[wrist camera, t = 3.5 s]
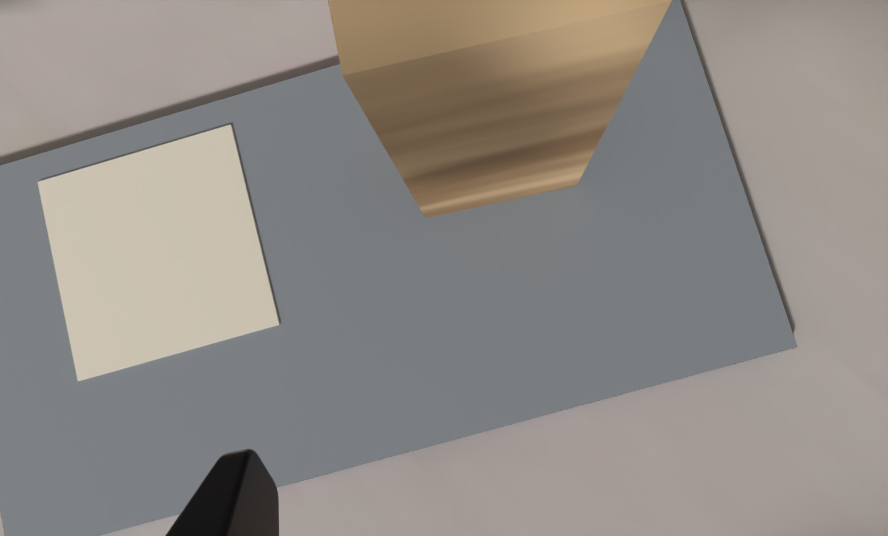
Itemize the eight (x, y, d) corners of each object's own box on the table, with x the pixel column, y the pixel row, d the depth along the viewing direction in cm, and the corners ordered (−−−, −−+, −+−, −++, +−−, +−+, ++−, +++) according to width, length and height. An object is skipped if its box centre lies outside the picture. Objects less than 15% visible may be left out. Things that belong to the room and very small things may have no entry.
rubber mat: (664, -27, 23) (669, -37, 22) (790, 346, 21) (799, 347, 21) (-49, 186, 24) (-62, 182, 23) (20, 555, 22) (7, 560, 22)
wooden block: (576, 185, 22) (671, 1, 10) (425, 217, 22) (342, 75, 10) (549, 69, 22) (610, -240, 10) (402, 102, 23) (296, -162, 11)
